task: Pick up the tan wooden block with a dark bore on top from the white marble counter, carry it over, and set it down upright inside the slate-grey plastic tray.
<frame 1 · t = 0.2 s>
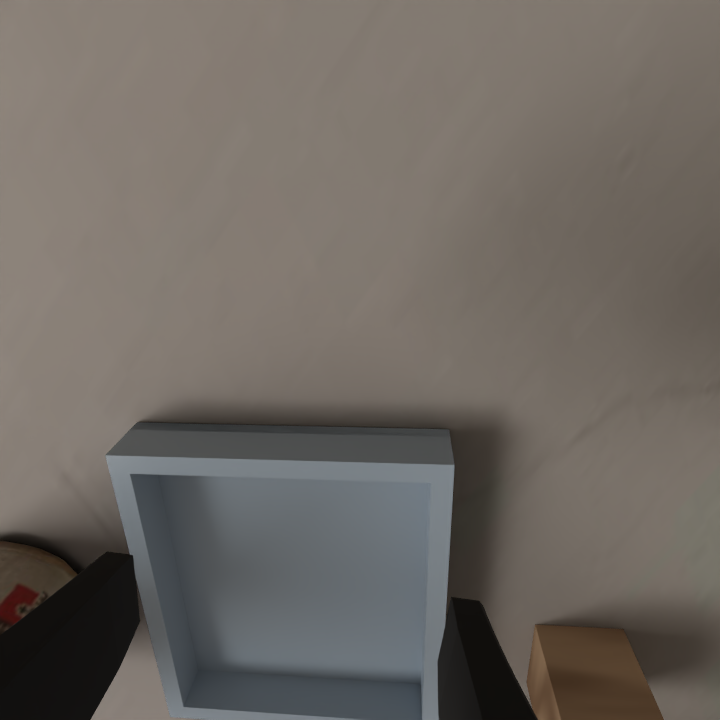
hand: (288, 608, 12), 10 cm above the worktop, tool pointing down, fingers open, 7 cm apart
spray can: (37, 595, 27), on the worktop
slate tray: (301, 566, 24), on the worktop
tan wooden block: (572, 655, 25), on the worktop
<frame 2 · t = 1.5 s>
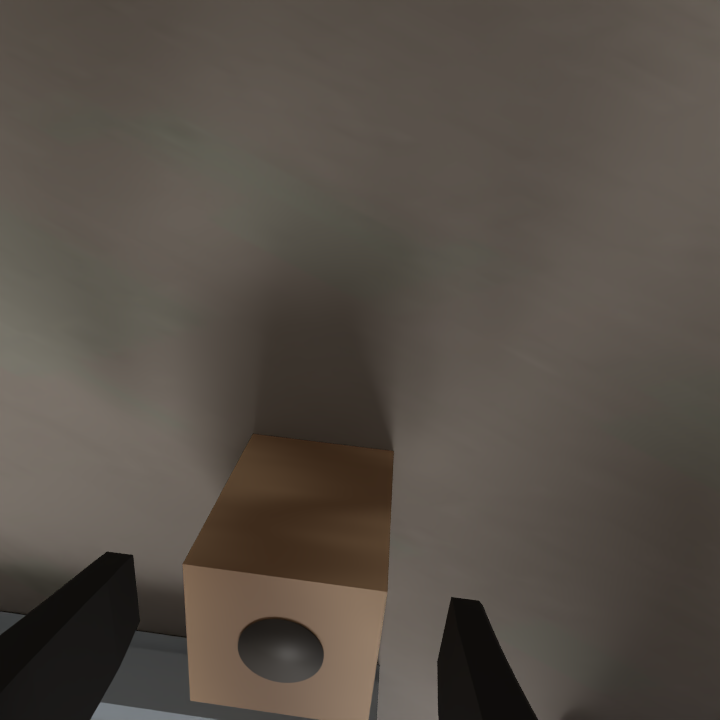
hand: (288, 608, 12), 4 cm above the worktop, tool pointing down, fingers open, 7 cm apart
tan wooden block: (318, 499, 15), on the worktop
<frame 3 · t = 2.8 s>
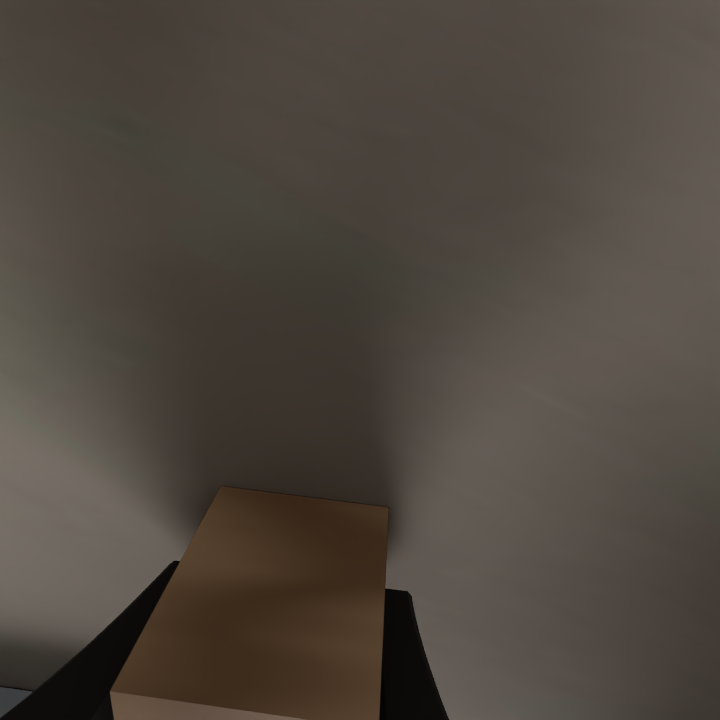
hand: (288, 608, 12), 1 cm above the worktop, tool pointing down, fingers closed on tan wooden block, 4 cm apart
tan wooden block: (300, 561, 13), on the worktop, touching gripper
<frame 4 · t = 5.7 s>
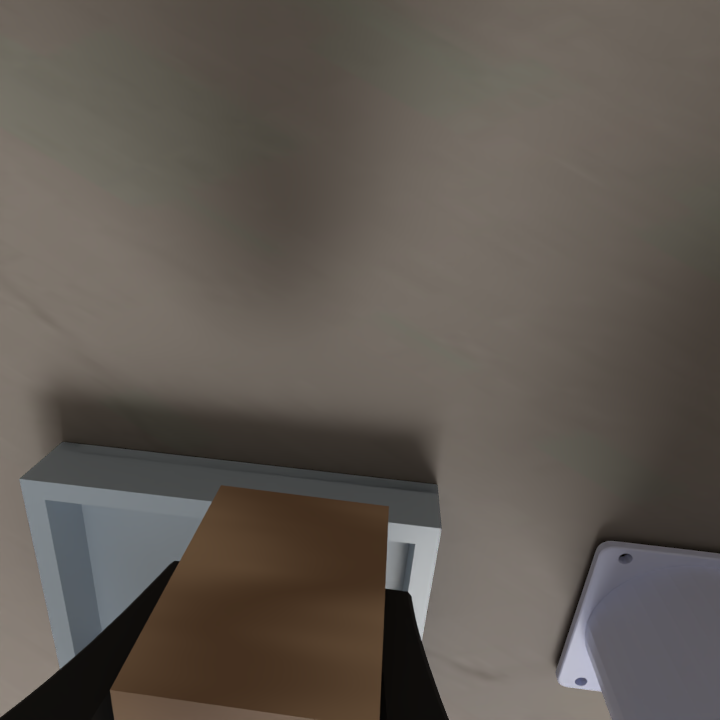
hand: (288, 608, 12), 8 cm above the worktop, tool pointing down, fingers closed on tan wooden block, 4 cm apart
slate tray: (247, 586, 23), on the worktop
tan wooden block: (300, 560, 13), point 7 cm above the worktop, touching gripper
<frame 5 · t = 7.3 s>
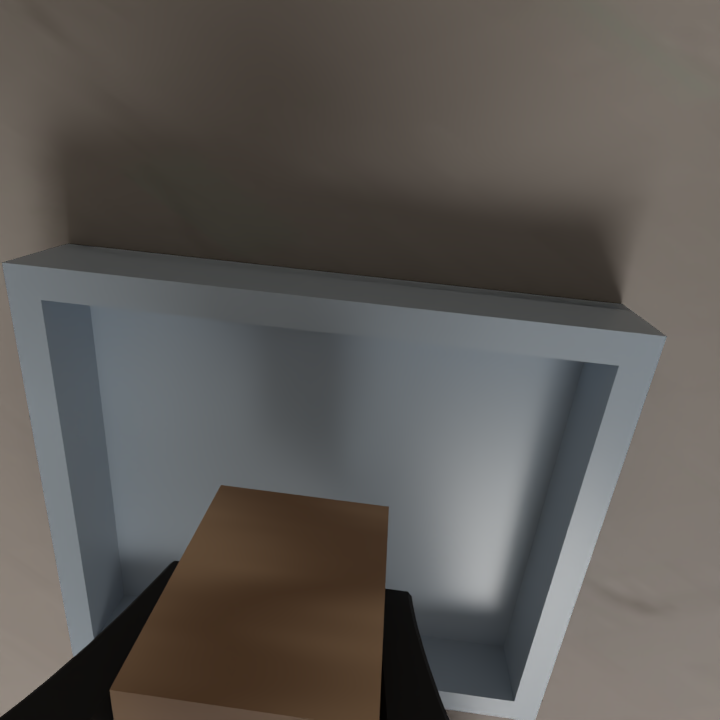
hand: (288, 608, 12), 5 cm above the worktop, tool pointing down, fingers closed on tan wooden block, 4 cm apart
slate tray: (323, 474, 16), on the worktop
tan wooden block: (300, 560, 13), point 4 cm above the worktop, touching gripper
when the fingers open (3 cm above the worktop, at t = 8.5 s): tan wooden block drops 1 cm, resting on slate tray.
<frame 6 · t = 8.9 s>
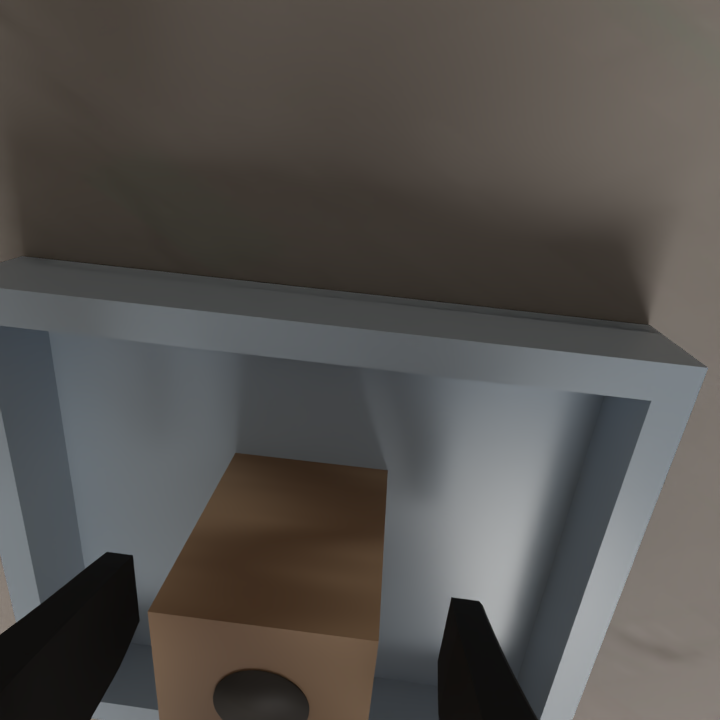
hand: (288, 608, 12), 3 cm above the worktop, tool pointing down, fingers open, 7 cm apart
slate tray: (313, 510, 15), on the worktop
tan wooden block: (307, 522, 14), point 1 cm above the worktop, touching slate tray
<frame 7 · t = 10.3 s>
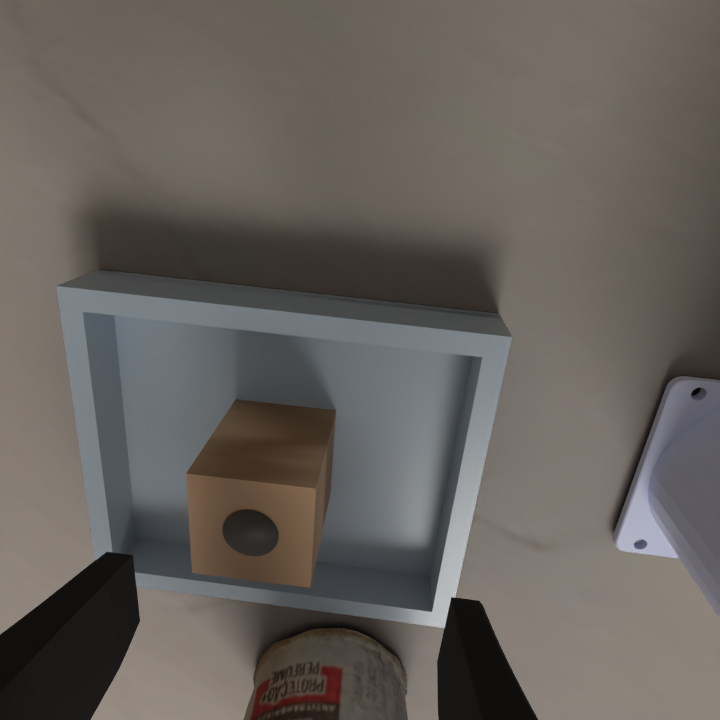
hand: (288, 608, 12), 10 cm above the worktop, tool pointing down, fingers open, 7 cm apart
spray can: (336, 674, 27), on the worktop
slate tray: (288, 441, 22), on the worktop
tan wooden block: (284, 448, 21), point 1 cm above the worktop, touching slate tray
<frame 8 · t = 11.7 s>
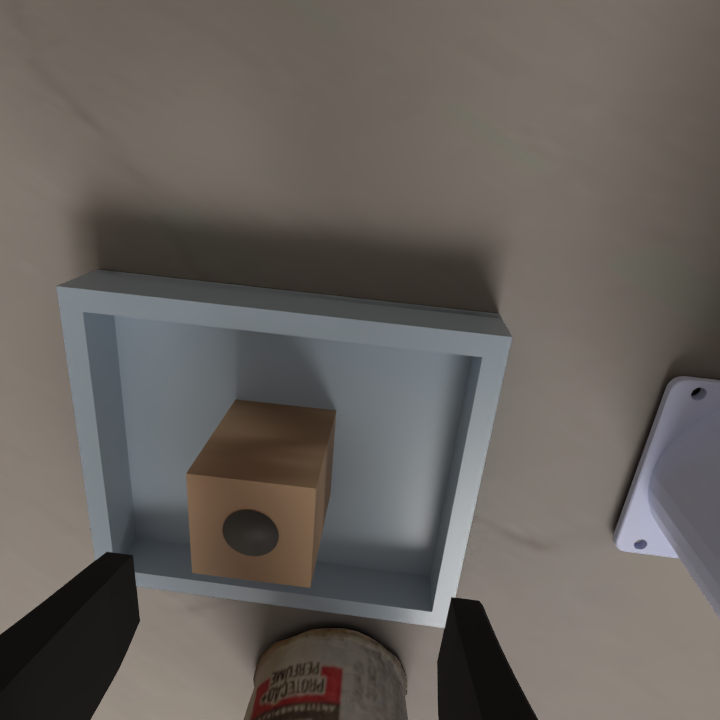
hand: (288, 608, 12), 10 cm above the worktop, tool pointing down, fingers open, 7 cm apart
spray can: (336, 674, 27), on the worktop
slate tray: (288, 441, 22), on the worktop
tan wooden block: (284, 448, 21), point 1 cm above the worktop, touching slate tray
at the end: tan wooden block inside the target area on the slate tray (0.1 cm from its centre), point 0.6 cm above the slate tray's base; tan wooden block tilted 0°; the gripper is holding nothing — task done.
